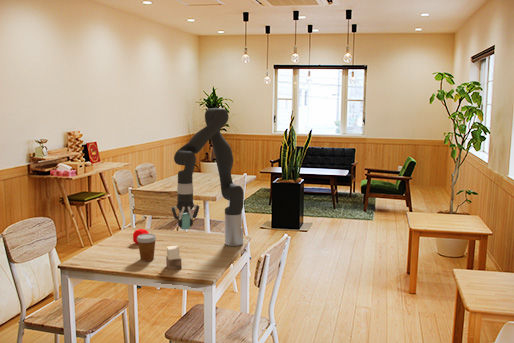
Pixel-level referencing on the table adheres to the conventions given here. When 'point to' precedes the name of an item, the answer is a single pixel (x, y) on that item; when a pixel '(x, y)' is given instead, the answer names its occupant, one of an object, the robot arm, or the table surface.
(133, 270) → the table surface
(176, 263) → the walnut base block
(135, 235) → the red faceted polyhedron
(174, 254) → the cream block
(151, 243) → the disposable coffee cup
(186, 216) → the teal capsule
